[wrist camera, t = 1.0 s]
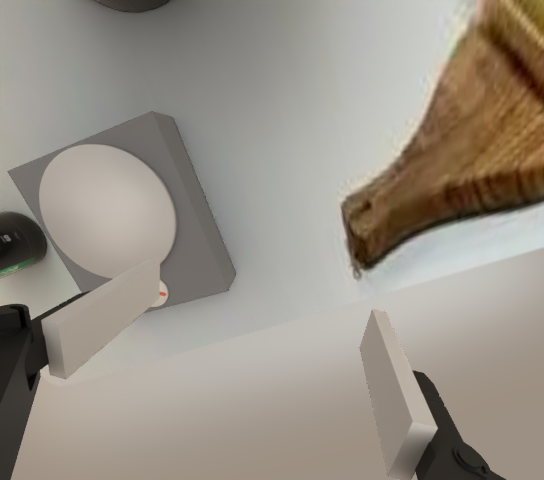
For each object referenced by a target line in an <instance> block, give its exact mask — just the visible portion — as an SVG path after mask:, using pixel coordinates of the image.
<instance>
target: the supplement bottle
mask: <svg viewBox="0 0 544 480" xmlns="http://www.w3.org/2000/svg"><path fill="white" fill-rule="evenodd" d="M45 251H46V241H45V238H44V235H43V233H42V231H41V230H40V229H39V227H38V226H37V225H36V224H35V223H34V222H33V221H32V220H30V219H29V218H27V217H25V216H23V215H21V214H18V213H13V212H3V213H0V279H1V278H3V277H5V276H8V275H10V274H12V273H15V272H17V271H19V270H22V269H24V268H26V267H29V266H31V265H33V264H35V263H37V262H38V261H40V260H41V259H42V257H43V256H44V254H45Z"/></svg>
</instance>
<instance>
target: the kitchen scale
mask: <svg viewBox="0 0 544 480" xmlns="http://www.w3.org/2000/svg"><path fill="white" fill-rule="evenodd" d="M7 172H8V173H9V175H10V177H11V178H12V180H13V181H14V183H15V185H16V186H17V188H18V189H19V191H20V193H21V194H22V196H23V198H24V199H25V201H26V202H27V204H28V206H29V207H30V209H31V211H32V212H33V214H34V215H35V217H36V219H37V220H38V222H39V224H40V225H41V227H42V228H43V230H44V232H45V233H46V235H47V237H48V238H49V240H50V241H51V243H52V245H53V246H54V248H55V250H56V251H57V253H58V254H59V256H60V258H61V259H62V261H63V263H64V264H65V266H66V267H67V269H68V271H69V272H70V274H71V275H72V277H73V279H74V280H75V282H76V284H77V285H78V287H79V288H80V290H81V292H82V293H84V292H87V291H93V290H95V289H97V288H98V287H100V286H102V285H104V284H105V283H107V282H109V281H111V280H112V279H114V278H116V277H117V276H119V275H121V274H123V273H124V272H126V271H128V270H130V269H131V268H133V267H135V266H137V265H138V264H140V263H142V262H144V261H145V260H147V259H153V260H158V261H160V298H159V300H157V301H156V302H155V303H154V304H153V305H152V306H151V307H149V308H148V309H147V310H146V311H145V312H144V313H146V312H150V311H153V310H157V309H161V308H165V307H169V306H172V305H176V304H180V303H184V302H188V301H191V300H195V299H199V298H203V297H207V296H210V295H214V294H218V293H222V292H225V291H229V288H230V286H231V284H232V282H233V280H234V278H235V276H236V272H235V269H234V267H233V265H232V262H231V260H230V257H229V255H228V252H227V250H226V247H225V245H224V242H223V240H222V237H221V235H220V232H219V230H218V228H217V225H216V223H215V220H214V218H213V215H212V213H211V210H210V208H209V205H208V203H207V200H206V198H205V196H204V193H203V191H202V188H201V186H200V183H199V181H198V178H197V176H196V173H195V171H194V168H193V166H192V164H191V161H190V159H189V156H188V154H187V151H186V149H185V146H184V144H183V141H182V139H181V136H180V134H179V132H178V129H177V127H176V124H175V122H174V119H173V118H172V117H169V116H166V115H163V114H160V113H156V112H153V111H151V112H149V113H146V114H144V115H142V116H139V117H137V118H134V119H132V120H130V121H127V122H125V123H122V124H120V125H118V126H115V127H113V128H110V129H108V130H105V131H103V132H101V133H98V134H96V135H93V136H91V137H89V138H86V139H84V140H81V141H79V142H77V143H74V144H72V145H69V146H67V147H65V148H62V149H60V150H57V151H55V152H53V153H50V154H48V155H45V156H43V157H41V158H38V159H36V160H33V161H31V162H29V163H26V164H24V165H21V166H19V167H17V168H14V169H12V170H9V171H7Z"/></svg>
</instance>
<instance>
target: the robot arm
mask: <svg viewBox="0 0 544 480" xmlns="http://www.w3.org/2000/svg"><path fill="white" fill-rule="evenodd" d="M95 1H97V2H99V3H101V4H103V5H105V6H107V7H110V8H113V9H117V10H121V11H128V12H139V11H146V10H150V9H153V8H156V7H158V6H161V5H163V4H165V3H166V2H168V1H169V0H95ZM159 298H160V261H158V260H153V259H147V260H145V261H144V262H142V263H140V264H138V265H137V266H135V267H133V268H131V269H130V270H128V271H126V272H124V273H123V274H121V275H119V276H117V277H116V278H114V279H112V280H111V281H109V282H107V283H105V284H104V285H102V286H100V287H98V288H97V289H95V290H93V291H87V292H84V293H81V294H78V295H76V296H74V297H72V298H71V299H69V300H67V302H66V301H65V302H63V303H61V304H60V305H59V306H56V307H54V308H52V309H51V310H49V311H47V312H45V313H43V314H42V315H40V316H38V317H36V318H34V319H33V320H31V319H30V314H29V308H28V307H27V306H26V305H22V304H9V305H4V306H0V480H10V479H11V476H12V472H13V469H14V466H15V462H16V459H17V455H18V451H19V448H20V445H21V441H22V438H23V435H24V431H25V428H26V424H27V421H28V417H29V414H30V411H31V407H32V404H33V401H34V397H35V394H36V390H37V386H38V383H39V380H40V370H41V369H42V368H43V367H45V366H46V365H47V364H48V365H49V371H50V375H53V376H56V377H59V378H63V379H67V378H68V377H69V376H71V375H72V374H73V373H74V372H75V371H76V370H78V369H79V368H80V367H81V366H82V365H83V364H85V363H86V362H87V361H88V360H89V359H90V358H91V357H93V356H94V355H95V354H96V353H97V352H98V351H100V350H101V349H102V348H103V347H104V346H105V345H107V344H108V343H109V342H110V341H111V340H112V339H113V338H115V337H116V336H117V335H118V334H119V333H120V332H122V331H123V330H124V329H125V328H126V327H127V326H129V325H130V324H131V323H132V322H133V321H134V320H135V319H137V318H138V317H139V316H140V315H141V314H142V313H144V312H145V311H146V310H147V309H148V308H149V307H151V306H152V305H153V304H154V303H155V302H156V301H157V300H159ZM360 352H361V357H362V361H363V366H364V370H365V375H366V379H367V384H368V389H369V393H370V398H371V402H372V407H373V411H374V416H375V421H376V425H377V430H378V434H379V439H380V443H381V448H382V452H383V457H384V462H385V466H386V471H387V475H388V476H390V477H393V478H397V479H400V480H411V479H412V477H413V475H414V473H415V472H416V475H417V478H418V480H506V479H504V478H502V477H501V476H499V475H497V474H495V473H494V472H492V471H491V470H490V468H489V466H488V464H487V463H486V462H485V460H484V459H483V458H482V457H481V455H479V453H477V452H476V451H475V450H474V449H473V448H472V447H470V446H469V445H467V444H466V443H464V442H463V440H462V438H461V436H460V434H459V432H458V430H457V428H456V427H455V424H454V422H453V421H452V419H451V417H450V415H449V413H448V411H447V409H446V407H444V403H443V401H442V399H441V397H439V393H438V391H437V389H436V388H435V386H434V384H433V383H432V382H431V381H430V379H429V378H428V377H427V376H426V375H425V374H424V373H421V372H417V371H413V370H412V369H411V367H410V365H409V363H408V360H407V358H406V356H405V354H404V351H403V349H402V347H401V345H400V342H399V340H398V338H397V336H396V334H395V331H394V329H393V327H392V325H391V322H390V320H389V318H388V315H387V313H386V312H383V311H379V310H375V309H372V311H371V315H370V318H369V320H368V323H367V327H366V330H365V333H364V336H363V339H362V342H361V345H360Z"/></svg>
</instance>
